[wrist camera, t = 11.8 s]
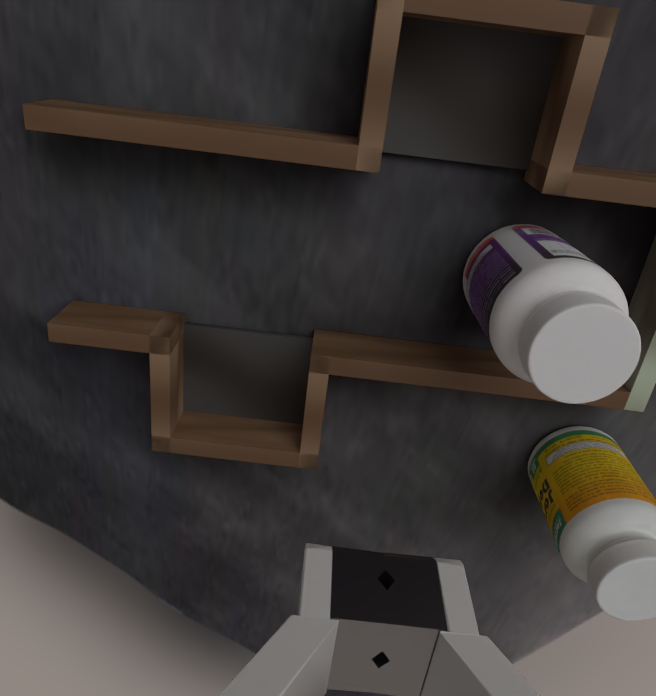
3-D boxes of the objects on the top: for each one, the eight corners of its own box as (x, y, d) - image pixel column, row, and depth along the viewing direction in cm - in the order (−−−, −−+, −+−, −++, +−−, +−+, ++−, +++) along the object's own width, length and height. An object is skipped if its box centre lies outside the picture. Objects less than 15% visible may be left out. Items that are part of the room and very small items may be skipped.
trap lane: (42, -58, 24) (3, -72, 22) (754, 34, 25) (803, 32, 22) (82, 410, 35) (60, 439, 32) (585, 468, 35) (604, 503, 32)
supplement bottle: (628, 478, 35) (716, 614, 27) (540, 506, 36) (598, 645, 28) (605, 409, 33) (692, 532, 25) (513, 441, 34) (566, 569, 26)
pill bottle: (485, 340, 31) (538, 442, 22) (444, 253, 29) (483, 327, 21) (584, 295, 30) (682, 384, 21) (548, 201, 28) (637, 256, 19)
